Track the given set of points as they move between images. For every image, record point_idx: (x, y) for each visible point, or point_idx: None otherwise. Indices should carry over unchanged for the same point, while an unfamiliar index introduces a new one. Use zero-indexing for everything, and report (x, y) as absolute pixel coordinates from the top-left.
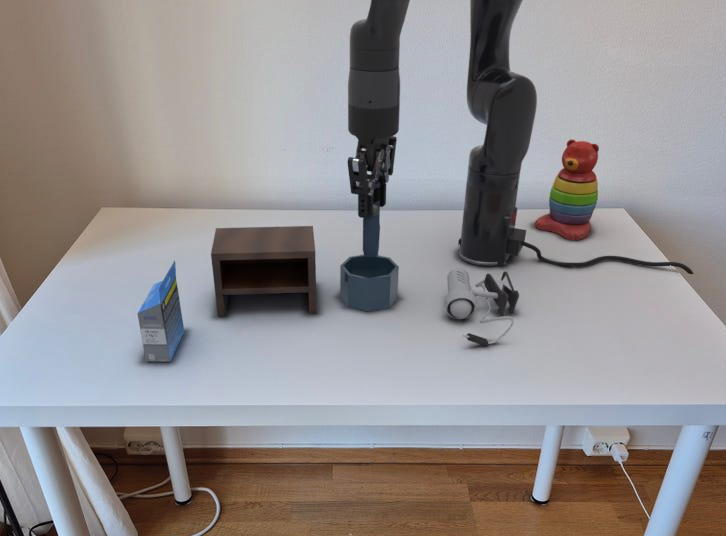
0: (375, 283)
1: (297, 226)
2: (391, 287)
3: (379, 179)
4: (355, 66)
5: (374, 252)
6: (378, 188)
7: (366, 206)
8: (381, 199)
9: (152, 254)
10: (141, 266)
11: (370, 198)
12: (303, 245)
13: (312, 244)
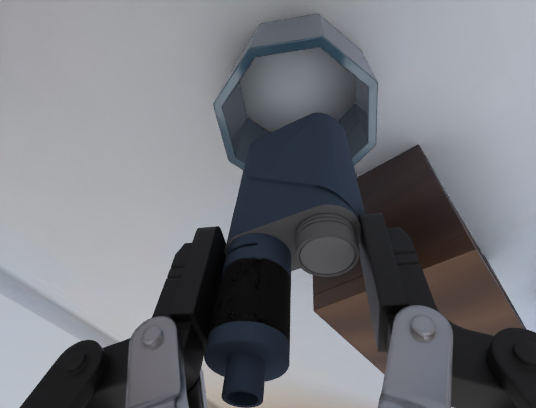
0: (360, 63)
1: (336, 329)
2: (309, 27)
3: (190, 357)
4: None
5: (336, 121)
6: (214, 313)
7: (420, 269)
8: (215, 257)
9: (341, 380)
10: (377, 375)
11: (404, 295)
12: (448, 282)
13: (432, 270)
